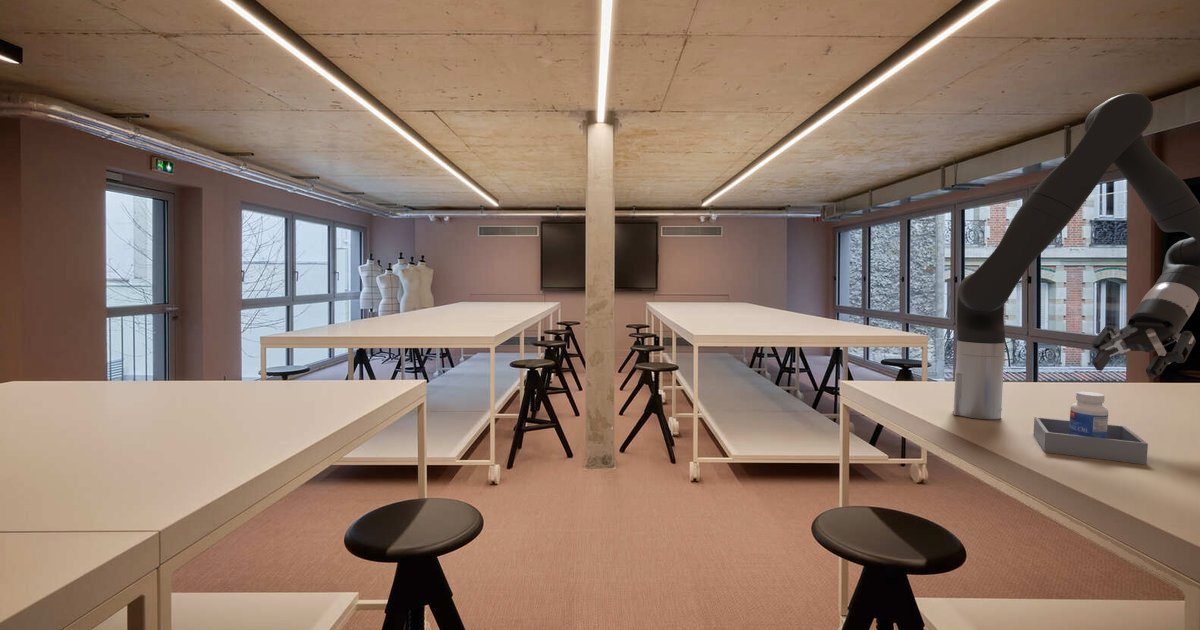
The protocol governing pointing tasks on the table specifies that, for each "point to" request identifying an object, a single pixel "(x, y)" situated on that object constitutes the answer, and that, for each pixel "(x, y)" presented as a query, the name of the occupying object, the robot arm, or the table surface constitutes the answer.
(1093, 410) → the pill bottle
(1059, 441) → the tray
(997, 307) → the robot arm
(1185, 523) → the table surface
